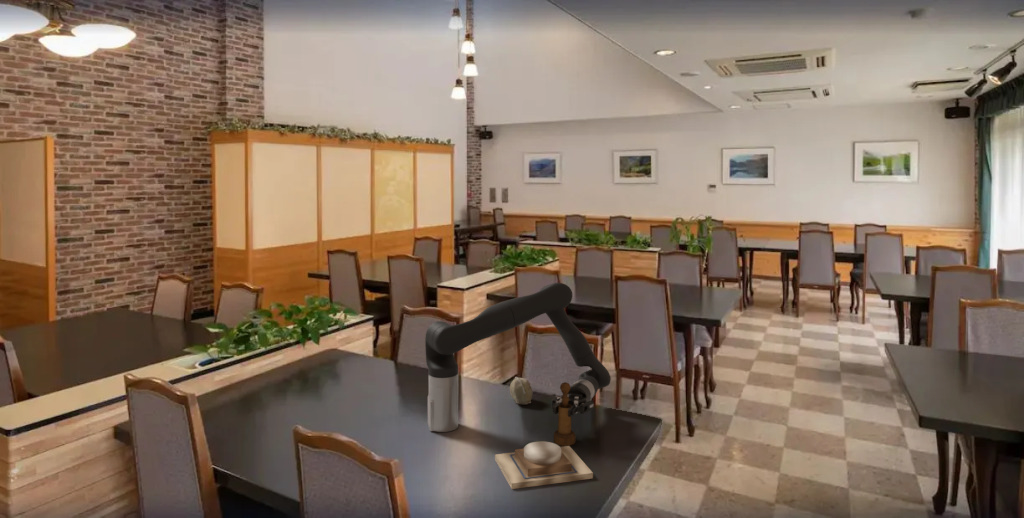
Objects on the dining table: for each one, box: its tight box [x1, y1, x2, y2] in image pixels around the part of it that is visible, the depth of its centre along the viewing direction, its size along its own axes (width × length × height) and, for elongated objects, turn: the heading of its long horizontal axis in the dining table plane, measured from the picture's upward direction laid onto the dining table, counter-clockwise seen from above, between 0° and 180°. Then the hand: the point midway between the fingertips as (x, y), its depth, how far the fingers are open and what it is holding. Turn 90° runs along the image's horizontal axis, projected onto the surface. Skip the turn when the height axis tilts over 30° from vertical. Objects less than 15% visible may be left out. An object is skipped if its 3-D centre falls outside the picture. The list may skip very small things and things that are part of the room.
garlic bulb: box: [509, 376, 533, 405], centre depth 213 cm, size 9×8×10 cm
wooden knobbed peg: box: [553, 381, 576, 447], centre depth 180 cm, size 7×6×18 cm
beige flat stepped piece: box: [494, 441, 594, 490], centre depth 163 cm, size 22×17×6 cm
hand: (562, 412), depth 177 cm, fingers closed on wooden knobbed peg, 4 cm apart
